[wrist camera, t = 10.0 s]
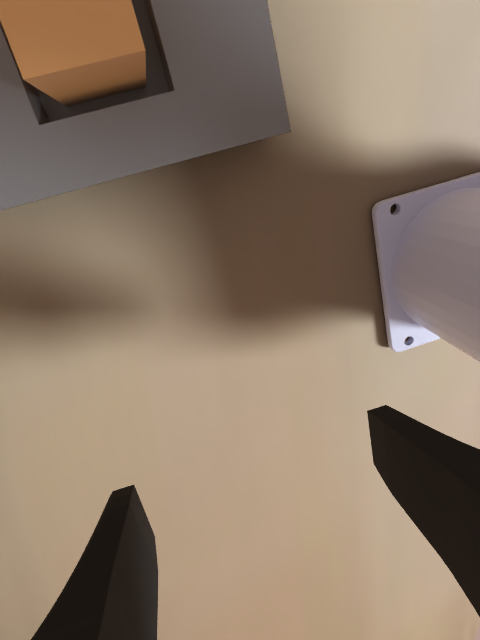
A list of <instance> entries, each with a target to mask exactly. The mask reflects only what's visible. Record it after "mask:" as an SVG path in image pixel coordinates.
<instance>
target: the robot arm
mask: <svg viewBox="0 0 480 640" xmlns="http://www.w3.org/2000/svg"><path fill="white" fill-rule="evenodd" d="M393 204H395V205H396V210H395V212H394V213H392V214H391V212H390V208H391V206H392V205H393ZM372 219H373V227H374V235H375V243H376V251H377V259H378V267H379V275H380V283H381V291H382V299H383V307H384V315H385V323H386V331H387V339H388V345H389V347H390V348H391V349H392V350H393V351H395V352H401V351H404V350H407V349H410V348H413V347H416V346H419V345H422V344H425V343H428V342H432V341H435V340H438V339H441V338H442V339H443V340H445V341H447V342H448V343H450V344H452V345H453V346H455V347H456V348H458V349H460V350H461V351H463V352H465V353H466V354H468V355H469V356H471V357H473V358H474V359H476V360H478V361H479V362H480V172H477V173H474V174H470V175H467V176H464V177H460V178H457V179H453V180H450V181H447V182H443V183H440V184H436V185H433V186H429V187H426V188H423V189H419V190H416V191H412V192H409V193H406V194H402V195H399V196H395V197H392V198H388V199H385V200H382V201H379V202H377V203H376V204H375V205H374V207H373V209H372ZM408 336H410V337H409V340H408V341H407V342H405V343H404V341H405V339H406V338H407V337H408ZM367 413H368V421H369V429H370V437H371V445H372V453H373V462H374V465H375V467H376V468H377V470H378V472H379V473H380V475H381V477H382V479H383V480H384V482H385V484H386V485H387V487H388V489H389V490H390V492H391V493H392V495H393V496H394V497H395V499H396V500H397V501H398V503H399V504H400V505H401V507H402V508H403V509H404V510H405V512H406V513H407V514H408V516H409V517H410V518H411V520H412V521H413V522H414V523H415V525H416V526H417V527H418V529H419V530H420V531H421V532H422V534H423V535H424V536H425V538H426V539H427V540H428V541H429V543H430V544H431V545H432V547H433V548H434V549H435V550H436V552H437V553H438V554H439V556H440V557H441V558H442V560H443V561H444V562H445V564H446V565H447V567H448V568H449V569H450V571H451V572H452V574H453V575H454V577H455V579H456V580H457V582H458V583H459V585H460V586H461V588H462V590H463V591H464V593H465V594H466V596H467V597H468V599H469V601H470V602H471V604H472V605H473V607H474V608H475V610H476V612H477V613H478V615H479V617H480V449H477V448H475V447H472V446H470V445H468V444H465V443H463V442H461V441H458V440H456V439H454V438H452V437H449V436H447V435H445V434H443V433H441V432H439V431H437V430H435V429H433V428H431V427H429V426H426V425H424V424H422V423H421V422H419V421H417V420H415V419H413V418H411V417H409V416H407V415H405V414H403V413H401V412H399V411H397V410H395V409H393V408H391V407H389V406H387V405H385V406H381V407H378V408H375V409H372V410H369V411H367ZM157 610H158V565H157V554H156V545H155V536H154V533H153V531H152V528H151V526H150V523H149V521H148V518H147V516H146V513H145V511H144V508H143V506H142V503H141V501H140V499H139V496H138V494H137V491H136V489H135V486H134V485H131V486H128V487H125V488H122V489H119V490H116V491H113V492H112V494H111V495H110V497H109V500H108V502H107V504H106V506H105V509H104V511H103V513H102V515H101V517H100V520H99V522H98V524H97V526H96V528H95V530H94V532H93V534H92V536H91V538H90V540H89V542H88V544H87V546H86V548H85V550H84V552H83V554H82V556H81V558H80V560H79V562H78V564H77V566H76V568H75V569H74V571H73V573H72V575H71V576H70V578H69V580H68V582H67V584H66V585H65V587H64V589H63V591H62V592H61V594H60V596H59V597H58V599H57V601H56V602H55V604H54V606H53V607H52V609H51V610H50V612H49V614H48V615H47V617H46V618H45V620H44V621H43V623H42V624H41V626H40V627H39V629H38V630H37V632H36V633H35V635H34V636H33V637H32V639H31V640H157Z"/></svg>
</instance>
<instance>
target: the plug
mask: <svg viewBox="0 0 480 640" xmlns="http://www.w3.org/2000/svg"><path fill="white" fill-rule="evenodd" d="M0 21H1V23H2V26H3V28H4V31H5V34H6V36H7V39H8V41H9V44H10V46H11V49H12V52H13V54H14V57H15V59H16V62H17V64H18V67H19V70H20V72H21V75H22V77H23V80H25V81H26V82H28V83H30V84H31V85H33V86H34V87H36V88H38V89H39V90H41V91H42V92H44V93H45V94H47V95H49V96H50V97H52V98H53V99H55V100H57V101H58V102H60V103H61V104H63V105H65V106H66V107H67V106H71V105H75V104H79V103H83V102H87V101H91V100H95V99H99V98H103V97H107V96H111V95H115V94H119V93H123V92H127V91H131V90H135V89H139V88H143V87H146V52H145V47H144V43H143V40H142V36H141V33H140V29H139V26H138V22H137V19H136V15H135V11H134V8H133V4H132V1H131V0H0Z"/></svg>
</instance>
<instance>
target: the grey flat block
mask: <svg viewBox="0 0 480 640" xmlns="http://www.w3.org/2000/svg"><path fill="white" fill-rule="evenodd" d="M131 1H132V4H133V8H134V11H135V15H136V19H137V22H138V26H139V29H140V33H141V36H142V40H143V43H144V47H145V52H146V87H143V88H139V89H135V90H131V91H127V92H123V93H119V94H115V95H111V96H107V97H103V98H99V99H95V100H91V101H87V102H83V103H79V104H75V105H71V106H67V107H66V106H65V105H63V104H61V103H60V102H58V101H57V100H55V99H53V98H52V97H50V96H49V95H47V94H45V93H44V92H42V91H41V90H39V89H38V88H36V87H34V86H33V85H31V84H30V83H28V82H26V81H25V80H23V77H22V75H21V72H20V70H19V67H18V64H17V62H16V59H15V57H14V54H13V52H12V49H11V46H10V44H9V41H8V39H7V36H6V34H5V31H4V28H3V26H2V23H1V21H0V210H4V209H7V208H11V207H15V206H19V205H22V204H26V203H30V202H33V201H37V200H41V199H44V198H48V197H52V196H55V195H59V194H63V193H66V192H70V191H74V190H77V189H81V188H85V187H88V186H92V185H96V184H100V183H103V182H107V181H111V180H114V179H118V178H122V177H125V176H129V175H133V174H136V173H140V172H144V171H147V170H151V169H155V168H158V167H162V166H166V165H169V164H173V163H177V162H181V161H184V160H188V159H192V158H195V157H199V156H203V155H206V154H210V153H214V152H217V151H221V150H225V149H228V148H232V147H236V146H239V145H243V144H247V143H250V142H254V141H258V140H262V139H265V138H269V137H273V136H276V135H280V134H284V133H287V132H291V129H290V124H289V118H288V113H287V107H286V102H285V97H284V91H283V86H282V80H281V75H280V69H279V64H278V59H277V53H276V48H275V42H274V37H273V31H272V26H271V21H270V15H269V10H268V4H267V0H131Z"/></svg>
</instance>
